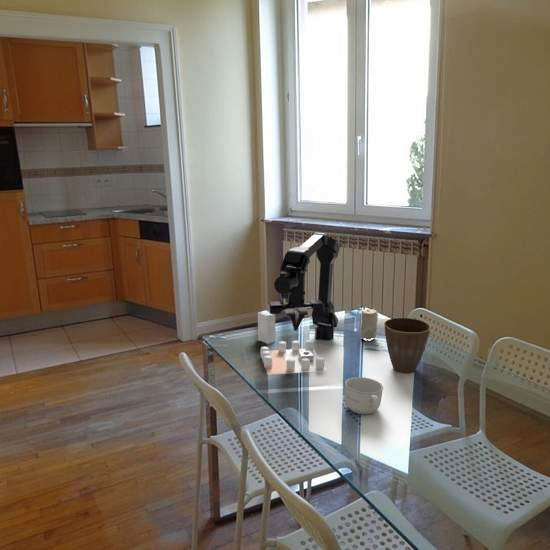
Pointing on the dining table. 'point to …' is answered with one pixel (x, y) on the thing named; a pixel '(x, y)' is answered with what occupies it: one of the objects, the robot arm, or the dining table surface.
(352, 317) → the dining table surface
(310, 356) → the nut
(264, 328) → the skincare box
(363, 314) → the beige upright cylinder
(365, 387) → the teacup
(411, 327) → the plant pot
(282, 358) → the board
